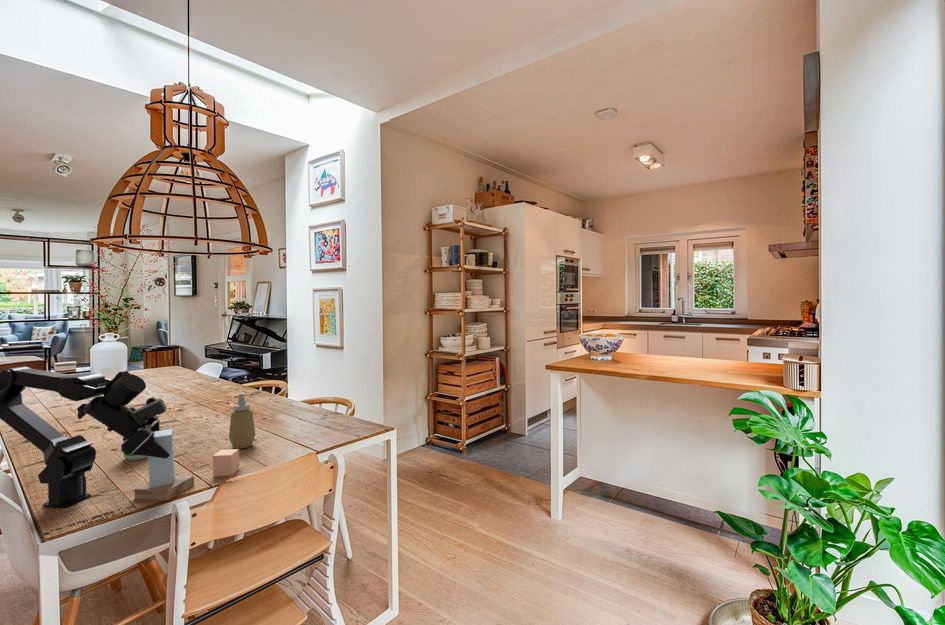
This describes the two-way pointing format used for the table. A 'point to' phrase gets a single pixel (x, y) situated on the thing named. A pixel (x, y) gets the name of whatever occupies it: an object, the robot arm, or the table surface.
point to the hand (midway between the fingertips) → (170, 451)
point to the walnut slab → (164, 489)
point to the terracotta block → (226, 462)
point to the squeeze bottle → (241, 425)
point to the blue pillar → (162, 461)
